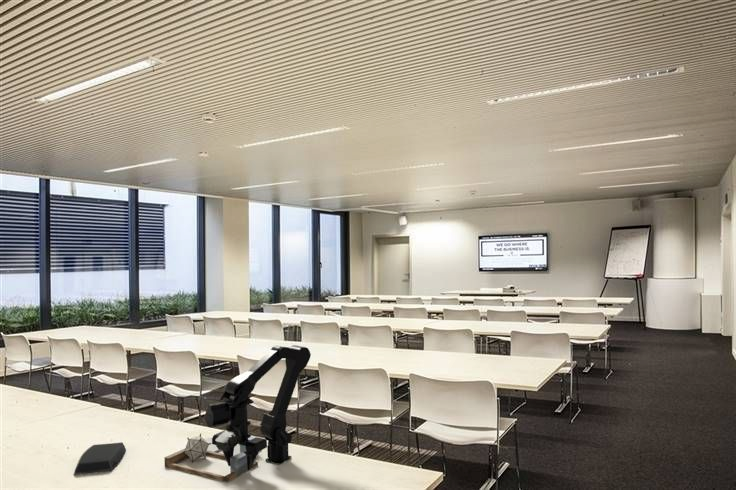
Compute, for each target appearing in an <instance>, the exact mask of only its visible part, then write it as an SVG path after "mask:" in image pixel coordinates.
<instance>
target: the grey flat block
mask: <svg viewBox="0 0 736 490" xmlns="http://www.w3.org/2000/svg"><path fill="white" fill-rule="evenodd" d="M256 437H257V436H253V435H251V437H250V438H248V440H252V439H254V438H256ZM212 438H213V437H209V436H208V437H206V438H205V437H204V438H203V439H204V440H205V441H206V442H207V443H208V444H209V443H211V445H209V446H208V448H207V451H211V452H216V453H219V452H220V454H224V453H223V451H222V450H221V449H220V450H219V449H218V447H216V445H214V444H212ZM245 451H247V450H246V447H245V446H244V445H239V444H237V445H236V446H235V447H234V453H233V456H235V455H237V454H239V453H241V452H242V453H244V452H245Z"/></svg>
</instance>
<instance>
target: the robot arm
mask: <svg viewBox="0 0 736 490" xmlns="http://www.w3.org/2000/svg"><path fill="white" fill-rule="evenodd" d="M311 356H312V353H311V351H310V349H309V348H308V347H305V346H300V345H294V344H293V345H291V346H289V347H287V346H279V345H273V346H272V347H271V348H270V350H269V351H268V352H267V353H266V354H265V355H263V356H262V357H261V358H260V359H259V360H258V361H257V362H256V363H254V365H252V366H251V367H250V368H249V369H248V370H247V371H245V372H244V373H241V374H239V375H237V376H235V377H233V378H232V379H230V380H229V381H228V382H227V384H226V385H225V386H226V388H225V390H224V392H223V393H222V395H221V397H220V399H219V402H216V403H209V404H208V405H207V409H206V410H205V414H204V421H205V423H206V426H207V427H208V428H214V427H217V426H221V425H224V424H226V426H225V430H221V431H219V432H217V433H216V434H213V436H212V437H211V438H212V444H214V445H216V447H218V449H219V450H220V449H221V450H222V451H221V452H223V453H224V456H225V458H226V460H225V461H226V463H227V465H228V467H230V458H231V457H233V453H234V447H235V446H236V445H238V444H239V445H244V446H245V447H246V450H247V451H245V452H244V453H245V454H246V455H247V468H248V471H247V472H250V471H252V470H253V469H252V466H253V464H254V462H255V461H256V459H257V457H258V455H259V452H261V451H263V450H264V449H267V451H266V452H267V458H265V462H267V463H272V464H276V465H281V464H282V465H283V463H284V462H287V461H288V460H290V459H292V455H289V444H290V443H291V442H292V439H293V435H291V434H290V433H289V432H288V431H286V429H287V424H288V423H287V422H288V421H287V412H288V409H289V406H290V403H291V400H292V398H293V394H294V391H295V389H296V388H295V387H296V386H297V383H298V379H299V377H300V374H301V372H302V371H303V370H304V369H305V368H307V366H308V363H309V361H310V359H311ZM283 359H284V361H285V372H284V375H283V378H282V379H281V380H282V381H281V382H280V386H279V389H278V391H277V392H278V393H277V395H276V398H275V400H274V404H273V405H272V406H273V407H272V408H271V410H270V412H269V413H268V414H267V413H264V414H263V415H262V420H261V422H260V423H259V426H260V428H259V429H260V431H259V432H260V433H261V435H262V436H263V437H264V438H263V437H257V436H255V437H256V438H254V439H252V440H248V438H250V437H251V436H252V434H251V433H249V426H250V425H251V420H249V417H248V414H249V413H248V410H249V409H248V405H252V404H254V400H252V399H251V398H250V397H249V396H250V395H251V394H252V392H253V391H254V389H255V387H256V385H257V383H258V381H260V380H261V379H262V378H263V377H264V376H265V375H266V374H267V373H268V372H269V371H270V370H271V369H273V368H274V367H275V366H276V365H277V364H278V363H279V362H280V361H281V360H283ZM232 398H233V399H232Z"/></svg>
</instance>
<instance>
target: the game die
mask: <svg viewBox="0 0 736 490" xmlns="http://www.w3.org/2000/svg"><path fill="white" fill-rule="evenodd" d="M186 439H187V443H186V445H185V448H184V449H185V451H183V452H182V453H184V452H185V453H186V454H187V455H188V456H189V457H190V458H189V459H191V460H192V461H191V463H192V464H194V461H195V460H199V459H201V458H203V459H207V457H206V456H207V455H205V454H206V451H207V448H208V446H209V445H211V443H209V444H208V443H207V442H206V441H205V440H204V439H205V438H203V437H202V433H200V434H199V436H195V437H191V438H190V437H186Z"/></svg>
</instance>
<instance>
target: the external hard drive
mask: <svg viewBox="0 0 736 490" xmlns="http://www.w3.org/2000/svg"><path fill="white" fill-rule="evenodd" d="M126 452H127V448H126V446H125V444H124V442H122V441H121V442H113V443H99V444H93V445H91V446H89V447H88V448H87V449H86V450H85V451H84V452H83V453H82V454H81V455H80V457H79V460H78V462H77V463H76V466H75V469H74V472H73V475H74V476H77V475H80V476H81V475H88V474H98V473H108V472H110V473H111V472H113V471H114V470H115V469H116V468H117V467H118V466H119V464H121V462H122V461H123V459H124V457H125V454H126Z"/></svg>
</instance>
